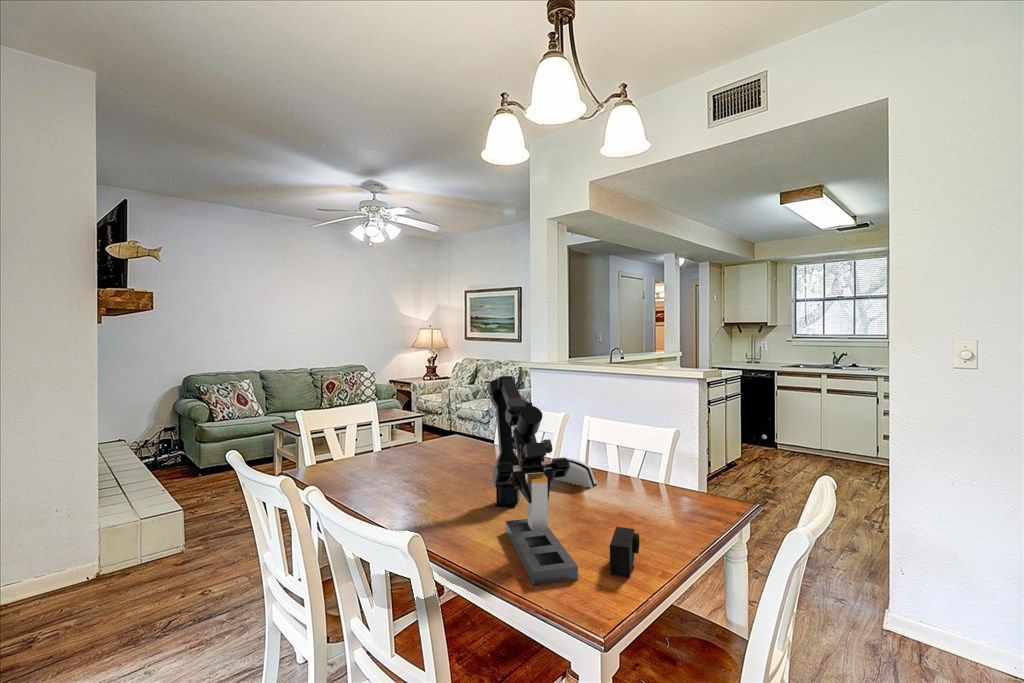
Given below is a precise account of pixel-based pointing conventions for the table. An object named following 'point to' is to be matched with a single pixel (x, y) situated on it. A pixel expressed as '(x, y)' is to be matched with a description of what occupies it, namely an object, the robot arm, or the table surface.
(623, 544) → the digital camera
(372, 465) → the table surface
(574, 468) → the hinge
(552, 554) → the gray slotted board
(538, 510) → the grey square peg
